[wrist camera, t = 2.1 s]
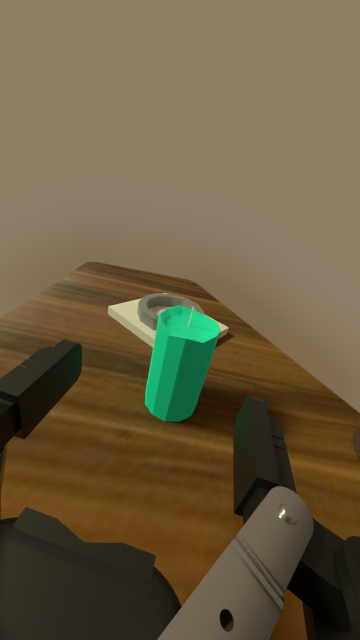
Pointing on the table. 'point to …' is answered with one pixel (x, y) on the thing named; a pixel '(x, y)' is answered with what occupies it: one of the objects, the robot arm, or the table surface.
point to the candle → (179, 362)
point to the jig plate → (151, 314)
